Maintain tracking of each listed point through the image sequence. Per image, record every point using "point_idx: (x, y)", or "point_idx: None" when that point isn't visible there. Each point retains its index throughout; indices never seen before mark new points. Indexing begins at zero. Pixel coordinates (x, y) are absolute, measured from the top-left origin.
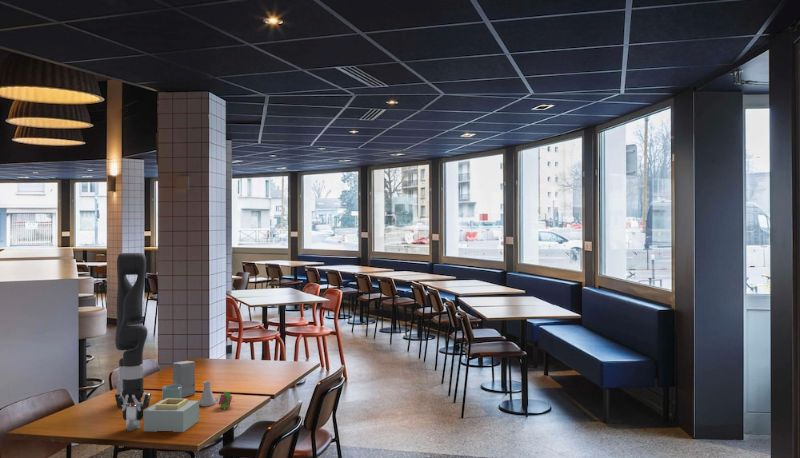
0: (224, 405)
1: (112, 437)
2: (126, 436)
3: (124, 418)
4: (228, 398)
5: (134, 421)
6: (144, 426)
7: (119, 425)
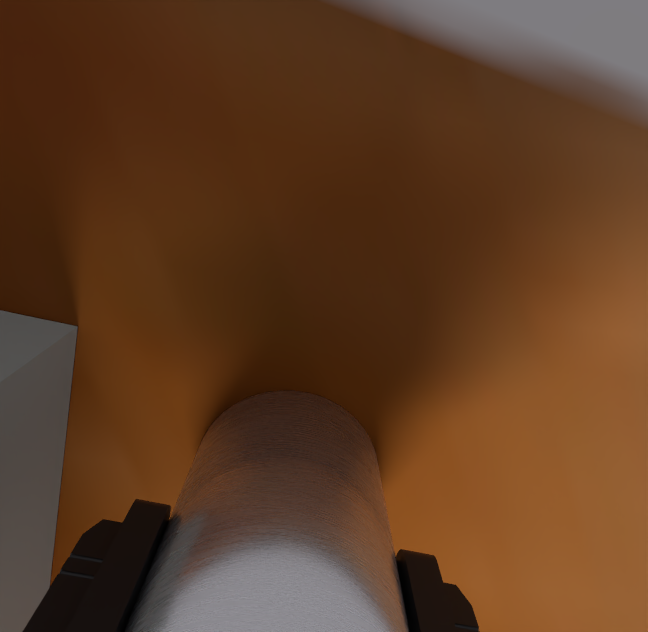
0: None
1: (476, 101)
2: (261, 115)
3: (427, 566)
4: None
5: (218, 469)
6: (29, 349)
7: (510, 605)
